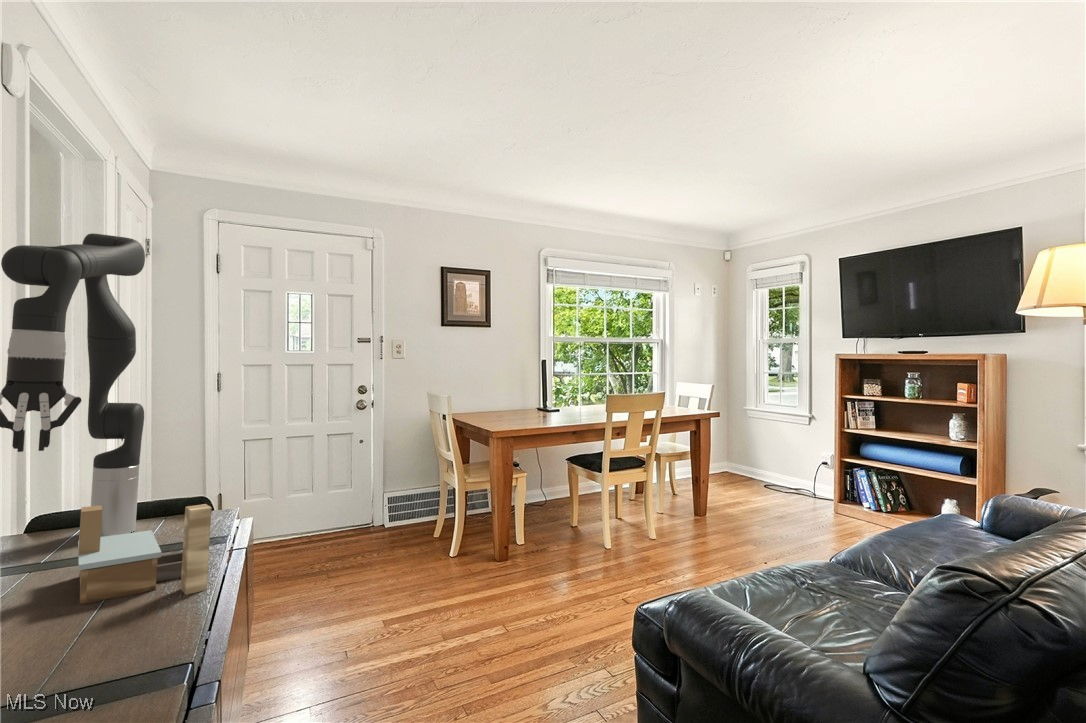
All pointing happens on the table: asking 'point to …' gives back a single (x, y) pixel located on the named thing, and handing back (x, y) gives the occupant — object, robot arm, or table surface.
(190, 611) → the table surface
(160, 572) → the wooden box
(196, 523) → the wooden block
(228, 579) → the table surface
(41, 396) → the robot arm
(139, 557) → the lid
